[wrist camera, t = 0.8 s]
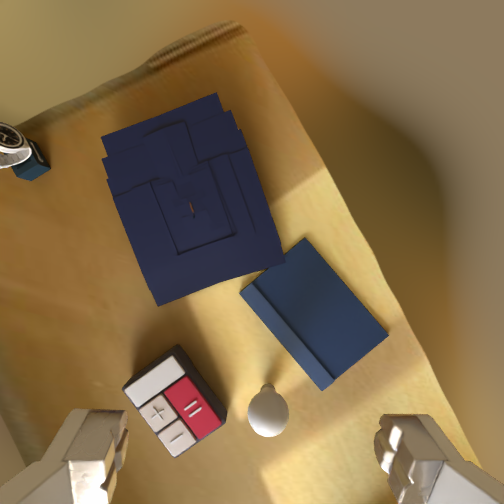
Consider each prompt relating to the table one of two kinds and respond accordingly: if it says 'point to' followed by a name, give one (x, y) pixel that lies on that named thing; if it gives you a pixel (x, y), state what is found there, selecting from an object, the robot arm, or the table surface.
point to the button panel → (175, 401)
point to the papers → (190, 199)
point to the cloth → (313, 314)
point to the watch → (21, 154)
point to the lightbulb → (268, 412)
